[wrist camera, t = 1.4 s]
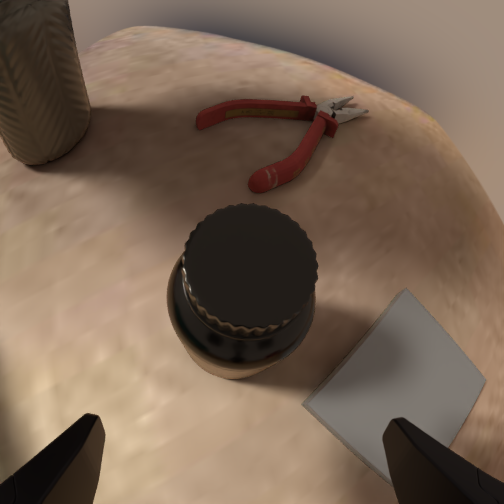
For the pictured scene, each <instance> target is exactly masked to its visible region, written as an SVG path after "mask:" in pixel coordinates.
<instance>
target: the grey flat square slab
mask: <svg viewBox="0 0 504 504" xmlns="http://www.w3.org/2000/svg"><path fill="white" fill-rule="evenodd" d="M485 381H486V379H485V378H484V376H483V375H482V374H481V373H480V371H479V370H478V369H477V368H476V366H475V365H474V364H473V363H472V361H471V360H470V359H469V358H468V357H467V355H466V354H465V353H464V352H463V351H462V349H461V348H460V347H459V346H458V345H457V344H456V342H455V341H454V340H453V339H452V338H451V337H450V335H449V334H448V333H447V332H446V331H445V330H444V329H443V327H442V326H441V325H440V324H439V323H438V322H437V321H436V319H435V318H434V317H433V316H432V315H431V314H430V313H429V312H428V311H427V310H426V308H425V307H424V306H423V305H422V304H421V303H420V302H419V301H418V300H417V299H416V298H415V297H414V295H413V294H412V293H411V292H410V291H409V290H408V289H407V288H405V289H404V290H402V291H401V292H399V293H398V294H397V295H396V296H395V297H394V299H393V300H392V301H391V303H390V304H389V305H388V306H387V308H386V309H385V310H384V312H383V313H382V314H381V315H380V317H379V318H378V319H377V320H376V322H375V323H374V324H373V325H372V327H371V328H370V329H369V330H368V332H367V333H366V334H365V335H364V336H363V338H362V339H361V340H360V341H359V342H358V343H357V345H356V346H355V347H354V348H353V349H352V350H351V352H350V353H349V354H348V355H347V356H346V357H345V358H344V360H343V361H342V362H341V363H340V364H339V365H338V366H337V367H336V368H335V370H334V371H333V372H332V373H331V374H330V375H329V376H328V377H327V378H326V379H325V380H324V381H323V382H322V383H321V385H320V386H319V387H318V388H317V389H316V390H315V391H314V392H313V393H312V394H311V395H310V396H309V397H308V398H307V399H306V400H305V401H304V402H303V403H302V405H303V406H304V407H305V408H306V409H307V410H308V411H309V412H310V413H311V414H312V415H313V416H314V417H315V418H316V419H317V420H318V421H319V422H320V423H321V424H322V425H323V426H324V427H326V428H327V429H328V430H329V431H330V432H331V433H332V434H333V435H334V436H335V437H336V438H337V439H338V440H340V441H341V442H342V443H343V444H344V445H345V446H346V447H347V448H348V449H349V450H351V451H352V452H353V453H354V454H355V455H356V456H357V457H358V458H360V459H361V460H362V461H363V462H364V463H365V464H366V465H368V466H369V467H370V468H371V469H372V470H373V471H374V472H376V473H377V474H378V475H379V476H380V477H382V478H383V479H384V480H385V481H386V482H387V483H389V484H390V485H391V486H392V487H393V484H392V481H391V477H390V474H389V469H388V464H387V460H386V455H385V450H384V446H383V441H382V436H383V433H384V431H385V429H386V427H387V426H388V424H389V422H390V420H392V419H393V418H398V417H404V418H406V419H407V420H408V421H410V422H411V423H413V424H414V425H415V426H417V427H418V428H420V429H421V430H423V431H424V432H425V433H427V434H428V435H430V436H431V437H433V438H434V439H436V440H437V441H438V442H440V443H441V444H443V445H444V446H446V447H447V448H448V447H449V446H450V444H451V442H452V441H453V439H454V438H455V436H456V434H457V433H458V431H459V430H460V428H461V426H462V424H463V423H464V421H465V419H466V418H467V416H468V414H469V412H470V410H471V409H472V407H473V405H474V403H475V401H476V399H477V397H478V395H479V393H480V391H481V389H482V387H483V385H484V383H485ZM393 488H394V487H393Z"/></svg>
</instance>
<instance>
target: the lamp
mask: <svg viewBox="0 0 504 504" xmlns="http://www.w3.org/2000/svg"><path fill="white" fill-rule="evenodd" d="M90 115H91V106H90V102H89V98H88V94H87V90H86V86H85V82H84V78H83V74H82V70H81V66H80V61H79V57H78V52H77V47H76V42H75V38H74V32H73V27H72V21H71V16H70V9H69V4H68V0H0V137H1V139H2V140H3V143H4V145H5V146H6V147H7V150H8V152H9V153H10V154H11V155H12V157H13V158H15V159H17V160H18V161H20V162H22V163H24V164H27V165H39V164H45V163H47V162H48V161H52V160H54V159H58V158H60V157H61V156H62V155H64V154H66V153H67V152H69V151H70V150H71V149H72V148H73V147H74V146H75V144H76V143H78V142H79V141H80V139H81V138H82V137H83V136H84V133H85V131H86V130H87V128H88V124H89V122H90Z"/></svg>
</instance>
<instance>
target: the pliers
mask: <svg viewBox="0 0 504 504" xmlns="http://www.w3.org/2000/svg"><path fill="white" fill-rule="evenodd" d="M353 97H354V96H352V97H344V98H336V99H330V100H327V101H324V102H322V103H320V104H318V105H316V104H315V102H311V101H310V98H309V96H302V97H301V100H300V102H290V101H276V100H257V99H241V100H231V101H227V102H224V103H221V104H218V105H215V106H213V107H210V108H207V109H205V110H202V111H201V112H200V113H199V114H198V115H197V117H196V125H197V128H198V129H199V130H202V129H204V128H207V127H209V126H212V125H214V124H217V123H220V122H222V121H225V120H228V119H233V118H240V117H260V118H280V119H294V120H307V121H313V123H312V125H311V126H310V128H309V130H308V131H307V133H306V135H305V136H304V138H303V140H302V141H301V143H300V145H299V146H298V148H297V149H296V150H295V152H294V153H293V154H291V155H290V156H289V157H288V158H286V159H284V160H283V161H279V162H277V163H274V164H272V165H269V166H267V167H264V168H262V169H260V170H258V171H256V172H255V173H254V174H253V175H252V176H251V177H250V179H249V182H248V187H249V188H250V189H251V190H252V191H253V192H256V193H262V192H265V191H268V190H270V189H272V188H275V187H277V186H279V185H282V184H284V183H287V182H289V181H291V180H292V179H294V178H295V177H296V176H298V175H299V174H300V172H301V171H302V170H303V169H304V168H305V166H306V165H307V163H308V161H309V160H310V158H311V156H312V154H313V152H314V150H315V148H316V146H317V144H318V143H319V141H320V139H321V137H322V135H323V134H325V135H327V136H329V137H332V138H333V137H334V135H335V133H336V130H337V128H338V123H343V122H346V121H348V120H351V119H353V118H355V117H358V116H360V115H363V114H366V113H368V112H369V110H364V109H356V108H341V107H342V106H343V105H345V104H346V103H348V102H349V101H350V100H352V99H353ZM339 108H341V109H340V110H338V109H339Z"/></svg>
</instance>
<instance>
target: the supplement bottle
mask: <svg viewBox="0 0 504 504" xmlns="http://www.w3.org/2000/svg"><path fill="white" fill-rule="evenodd" d="M312 246H313V245H312V242H311V241H310V240H309V239H308V238H307V234H306V232H305V231H304V230H302V229H301V228H300V226H299V224H298V223H297V222H295V221H293V220H291V218H290V217H289V216H288V215H285V214H282V213H281V212H280V211H278V210H277V209H271V208H269V207H267V206H259V205H256V204H254V203H253V204H248V205H247V204H242V203H241V204H238V205H236V206H233V205H229V206H227V207H226V208H224V209H218V210H216V211H215V212H214V213H213V214H210V215H207V216H206V218H205V219H204V221H202V222H199V223H198V224H197V226H196V229H195V230H193V231H192V232H191V233H190V236H189V240H188V241H187V242H186V243H185V251H184V252H183V254H182V255H181V256H180V257H179V259H178V260H177V262H176V264H175V266H174V267H173V270H172V272H171V275H170V278H169V282H168V287H167V307H168V313H169V317H170V320H171V323H172V326H173V328H174V330H175V332H176V334H177V336H178V337H179V339H180V341H181V342H182V344H183V346H184V347H185V349H186V350H187V352H188V354H189V355H190V357H191V358H192V359H193V360H194V362H195V363H196V364H197V365H198V366H200V367H201V368H202V369H203V370H205V371H206V372H208V373H210V374H212V375H215V376H217V377H221V378H226V379H241V378H246V377H249V376H252V375H255V374H257V373H259V372H261V371H263V370H265V369H267V368H269V367H271V366H272V365H274V364H276V363H278V362H280V361H281V360H283V359H284V358H286V357H287V356H288V355H290V354H291V353H292V352H293V351H294V350H295V349H296V348H297V347H298V346H299V345H300V344H301V342H302V341H303V339H304V338H305V336H306V335H307V333H308V331H309V329H310V327H311V324H312V321H313V318H314V313H315V306H316V296H315V283H316V282H317V280H318V275H317V269H318V263H317V261H316V252H315V251H314V249H313V247H312Z"/></svg>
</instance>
